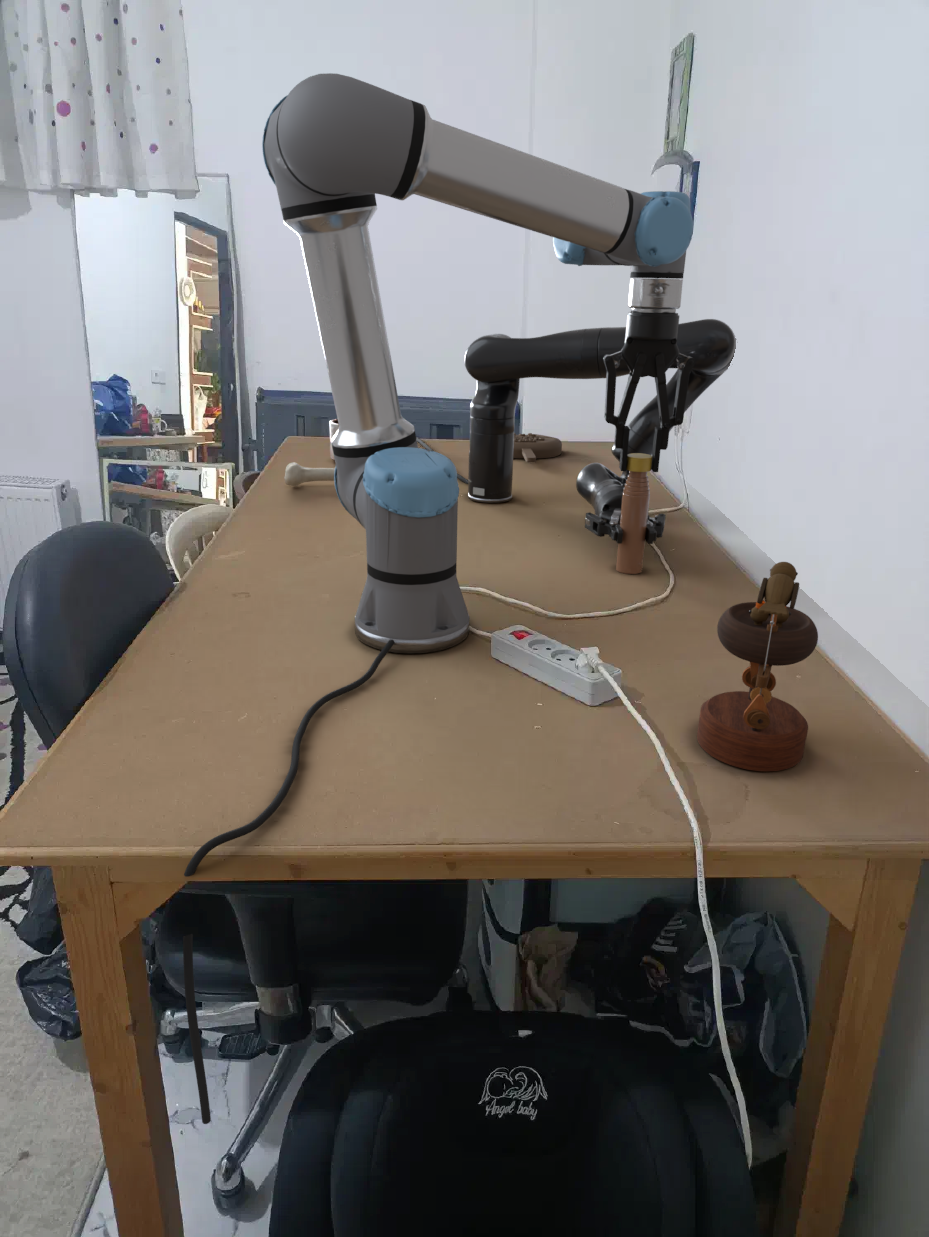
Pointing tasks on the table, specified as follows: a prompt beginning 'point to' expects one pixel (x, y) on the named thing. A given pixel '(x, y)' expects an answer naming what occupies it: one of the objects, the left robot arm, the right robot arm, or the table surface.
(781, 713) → the music box
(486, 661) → the table surface
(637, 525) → the bottle
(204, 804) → the table surface
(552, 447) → the ice cream bar
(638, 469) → the cap
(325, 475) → the dog toy
